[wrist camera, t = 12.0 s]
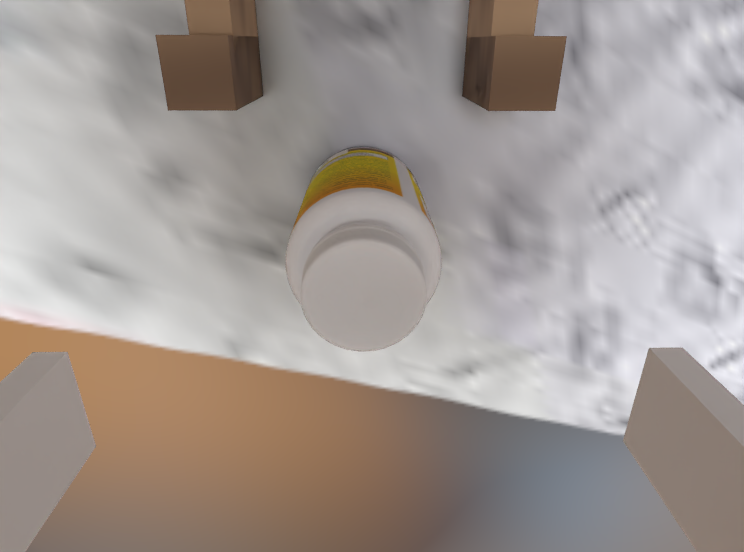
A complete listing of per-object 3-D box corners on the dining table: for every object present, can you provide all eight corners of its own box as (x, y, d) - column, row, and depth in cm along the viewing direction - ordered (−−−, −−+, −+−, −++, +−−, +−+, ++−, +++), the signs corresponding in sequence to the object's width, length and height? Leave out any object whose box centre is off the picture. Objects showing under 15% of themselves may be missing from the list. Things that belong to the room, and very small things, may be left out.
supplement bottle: (284, 203, 24) (235, 302, 15) (361, 118, 23) (359, 172, 13) (365, 273, 26) (366, 400, 17) (443, 199, 24) (490, 296, 15)
